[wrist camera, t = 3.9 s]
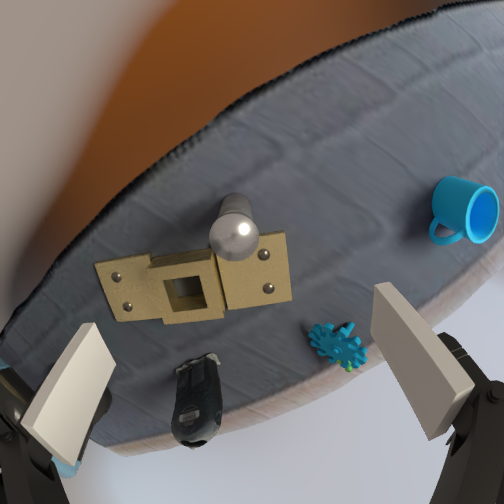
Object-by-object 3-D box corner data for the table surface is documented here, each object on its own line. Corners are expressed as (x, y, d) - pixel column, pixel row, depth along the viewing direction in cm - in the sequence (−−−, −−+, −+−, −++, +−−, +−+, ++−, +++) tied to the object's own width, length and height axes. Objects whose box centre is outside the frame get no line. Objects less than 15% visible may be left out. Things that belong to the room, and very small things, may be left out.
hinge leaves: (119, 318, 40) (110, 333, 37) (97, 261, 37) (85, 273, 33) (290, 296, 40) (295, 312, 36) (283, 230, 36) (288, 240, 33)
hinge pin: (222, 225, 36) (214, 264, 24) (216, 193, 34) (204, 218, 23) (255, 220, 36) (262, 257, 24) (250, 187, 34) (255, 210, 23)
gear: (296, 325, 41) (355, 335, 33) (316, 298, 44) (372, 303, 36) (319, 368, 45) (370, 380, 37) (336, 343, 48) (385, 351, 40)
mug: (454, 165, 33) (489, 174, 26) (471, 205, 36) (503, 219, 28) (407, 213, 36) (440, 230, 28) (428, 251, 38) (458, 272, 31)
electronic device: (186, 384, 46) (175, 452, 32) (168, 365, 44) (151, 435, 30) (231, 371, 45) (230, 444, 31) (214, 349, 43) (208, 426, 29)
